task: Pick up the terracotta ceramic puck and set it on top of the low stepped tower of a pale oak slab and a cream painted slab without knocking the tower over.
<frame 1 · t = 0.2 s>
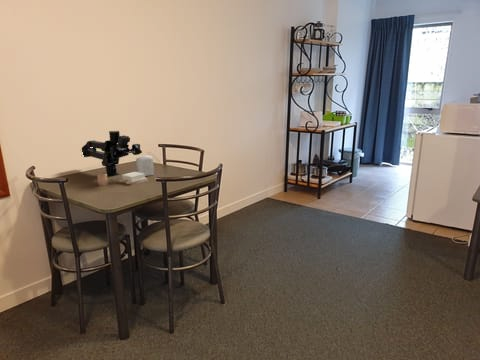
hand: (135, 153, 205), 17 cm above the table, tool horizontal, fingers open, 9 cm apart
puck: (103, 184, 203), on the table
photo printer: (145, 175, 222), on the table
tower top: (133, 178, 208), point 2 cm above the table, touching tower base
tower base: (133, 182, 209), on the table, touching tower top
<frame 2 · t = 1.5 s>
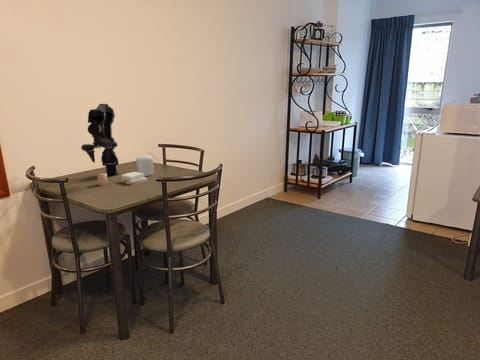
hand: (101, 161, 199), 13 cm above the table, tool pointing down, fingers open, 9 cm apart
nothing on the table moved.
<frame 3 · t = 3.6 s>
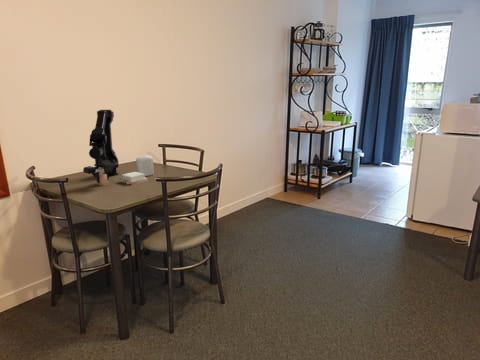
hand: (102, 182, 203), 1 cm above the table, tool pointing down, fingers closed on puck, 5 cm apart
puck: (103, 184, 203), on the table, touching gripper
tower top: (133, 178, 208), point 2 cm above the table
tower base: (133, 182, 209), on the table
everything else where it was.
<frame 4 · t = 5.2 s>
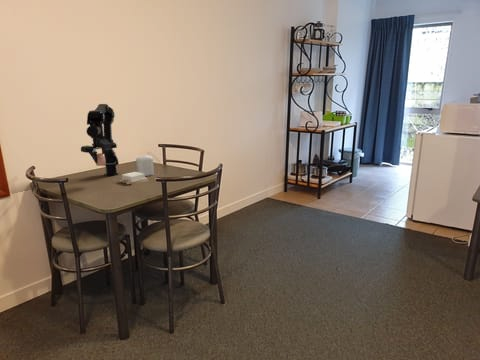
hand: (100, 162, 199), 13 cm above the table, tool pointing down, fingers closed on puck, 5 cm apart
puck: (101, 164, 200), point 11 cm above the table, touching gripper
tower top: (133, 178, 208), point 2 cm above the table, touching tower base
tower base: (133, 182, 209), on the table, touching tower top
everything else where it was.
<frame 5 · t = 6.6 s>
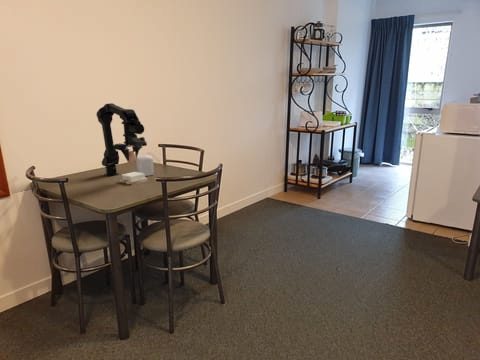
hand: (131, 159, 205), 13 cm above the table, tool pointing down, fingers closed on puck, 5 cm apart
puck: (132, 162, 206), point 11 cm above the table, touching gripper
everything else where it was.
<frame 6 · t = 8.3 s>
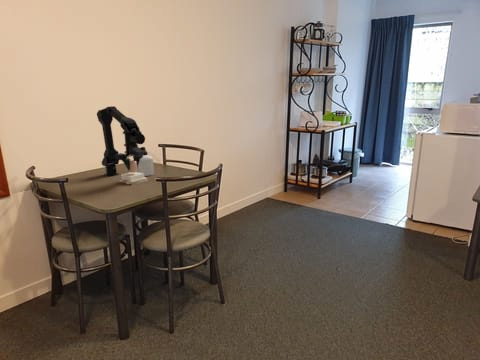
hand: (132, 169, 207), 7 cm above the table, tool pointing down, fingers closed on puck, 5 cm apart
puck: (133, 171, 207), point 6 cm above the table, touching gripper
everything else where it was.
when the fingers open (7 cm above the table, at t = 8.5 s): puck drops 2 cm, point 4 cm above the table.
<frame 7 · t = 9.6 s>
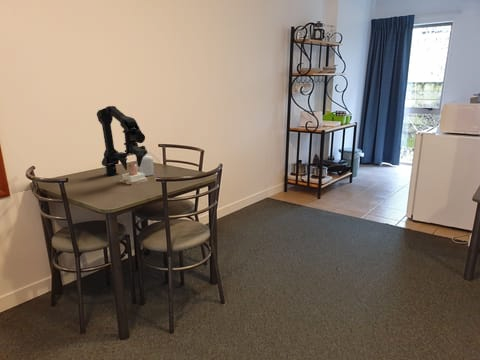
hand: (132, 168, 207), 8 cm above the table, tool pointing down, fingers open, 9 cm apart
puck: (133, 174, 208), point 4 cm above the table
everything else where it was.
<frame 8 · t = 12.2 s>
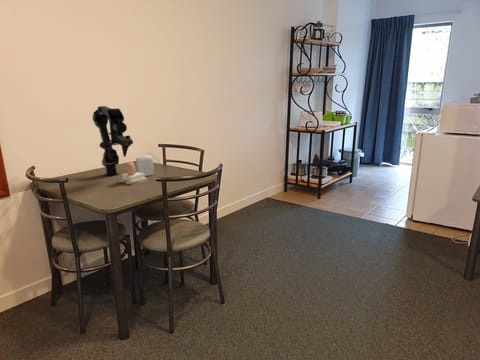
hand: (118, 157, 209), 13 cm above the table, tool pointing down, fingers open, 9 cm apart
puck: (132, 172, 207), point 5 cm above the table, tilted 19°, touching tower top
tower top: (133, 178, 208), point 2 cm above the table, touching puck, tower base
everything else where it was.
at the end: puck 0.3 cm off-centre on the tower base, point 5.6 cm above the tower base's base; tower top 0.2 cm from the tower base (horizontally); tower base moved 0.7 cm from its start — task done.
